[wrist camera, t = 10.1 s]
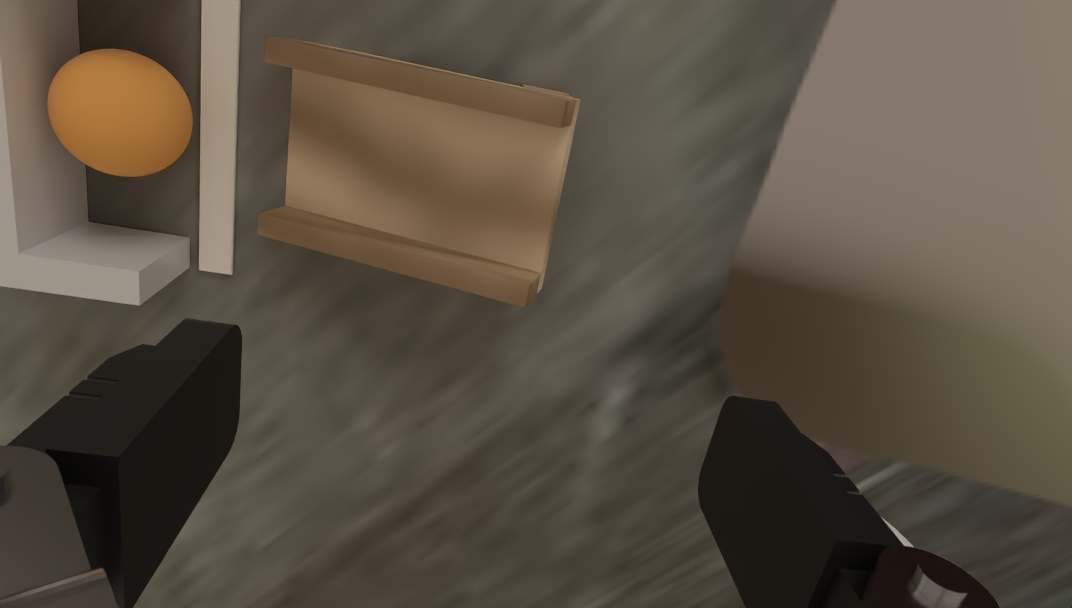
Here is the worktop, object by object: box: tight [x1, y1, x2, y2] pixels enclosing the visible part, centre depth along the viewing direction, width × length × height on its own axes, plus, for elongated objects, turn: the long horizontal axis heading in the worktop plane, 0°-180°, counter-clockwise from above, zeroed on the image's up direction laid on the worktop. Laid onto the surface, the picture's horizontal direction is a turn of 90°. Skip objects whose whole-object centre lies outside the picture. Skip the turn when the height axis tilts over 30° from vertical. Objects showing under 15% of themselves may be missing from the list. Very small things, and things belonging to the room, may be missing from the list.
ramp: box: [257, 36, 581, 308], centre depth 29 cm, size 8×13×7 cm, turn 79°
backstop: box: [0, 0, 190, 306], centre depth 27 cm, size 14×6×5 cm, turn 169°
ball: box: [47, 49, 193, 177], centre depth 27 cm, size 5×5×5 cm
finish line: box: [199, 0, 241, 275], centre depth 30 cm, size 14×2×1 cm, turn 169°
